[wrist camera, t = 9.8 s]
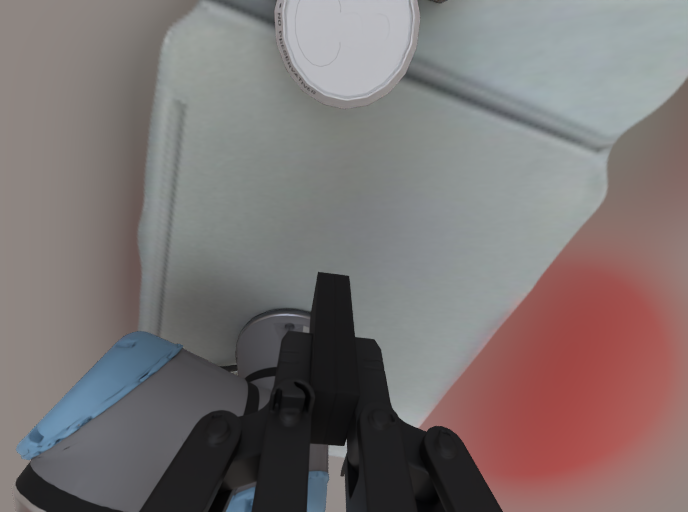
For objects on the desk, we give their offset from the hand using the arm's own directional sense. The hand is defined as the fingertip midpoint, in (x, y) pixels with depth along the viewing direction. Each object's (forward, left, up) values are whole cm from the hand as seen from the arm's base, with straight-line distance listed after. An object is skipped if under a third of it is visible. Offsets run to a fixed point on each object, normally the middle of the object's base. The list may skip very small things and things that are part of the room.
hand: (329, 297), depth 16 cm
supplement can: (+8, +8, -23) cm, 26 cm away
